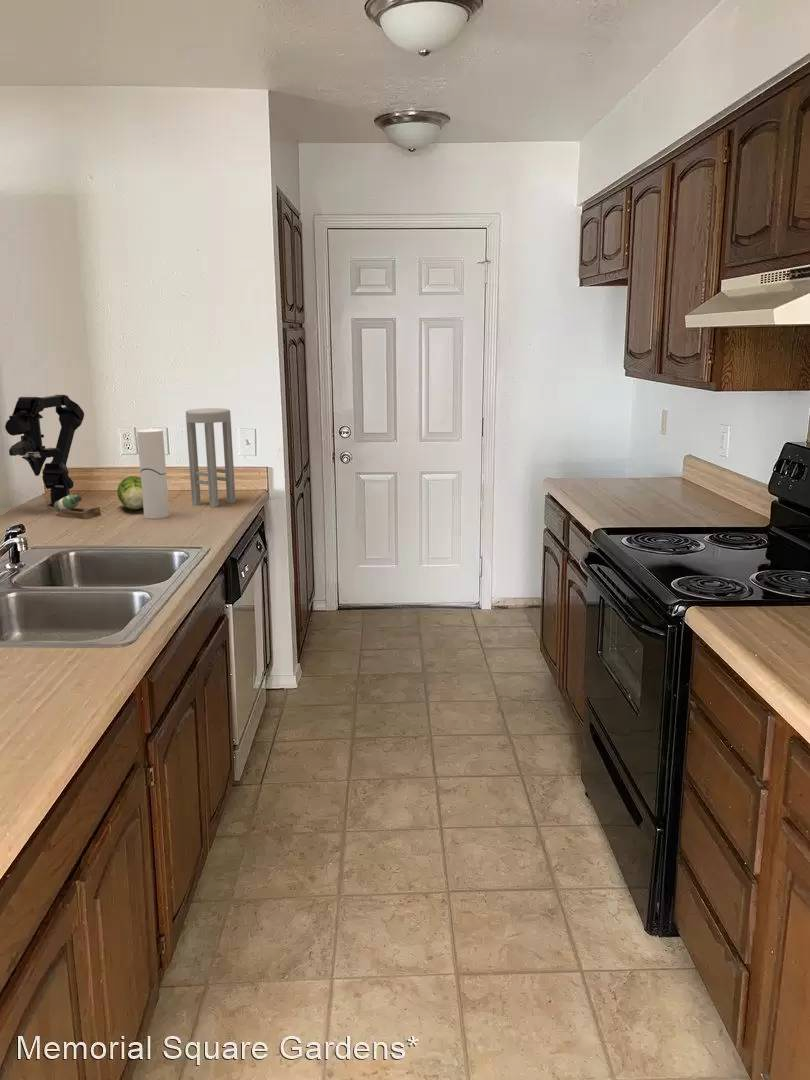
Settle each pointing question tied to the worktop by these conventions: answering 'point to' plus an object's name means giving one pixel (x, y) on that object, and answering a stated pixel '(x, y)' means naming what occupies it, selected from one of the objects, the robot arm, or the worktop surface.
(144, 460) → the container
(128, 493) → the lettuce
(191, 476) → the stool
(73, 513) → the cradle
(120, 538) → the worktop surface
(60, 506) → the bottle
